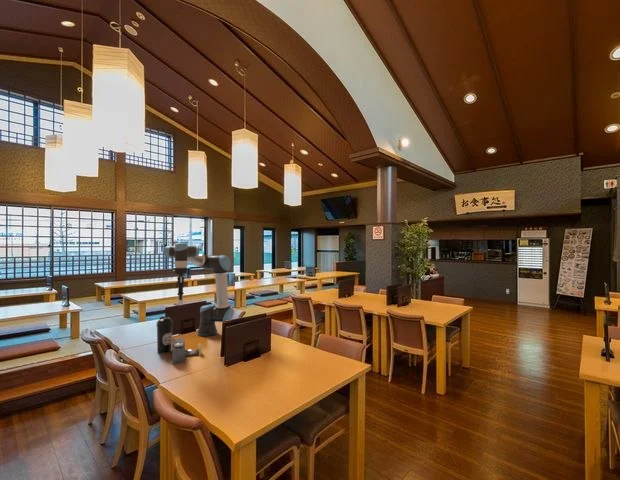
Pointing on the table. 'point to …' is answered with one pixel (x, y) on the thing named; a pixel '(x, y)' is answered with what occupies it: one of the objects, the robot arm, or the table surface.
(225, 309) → the robot arm
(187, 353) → the lynch pin
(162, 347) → the water bottle
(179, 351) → the hitch beam
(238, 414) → the table surface
